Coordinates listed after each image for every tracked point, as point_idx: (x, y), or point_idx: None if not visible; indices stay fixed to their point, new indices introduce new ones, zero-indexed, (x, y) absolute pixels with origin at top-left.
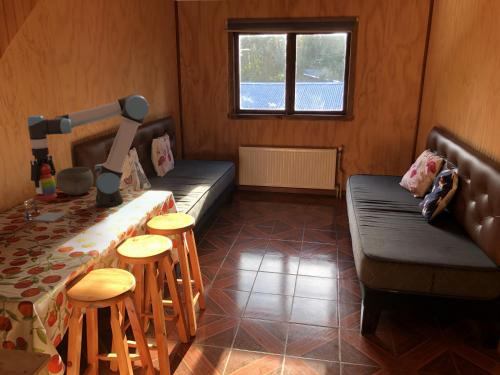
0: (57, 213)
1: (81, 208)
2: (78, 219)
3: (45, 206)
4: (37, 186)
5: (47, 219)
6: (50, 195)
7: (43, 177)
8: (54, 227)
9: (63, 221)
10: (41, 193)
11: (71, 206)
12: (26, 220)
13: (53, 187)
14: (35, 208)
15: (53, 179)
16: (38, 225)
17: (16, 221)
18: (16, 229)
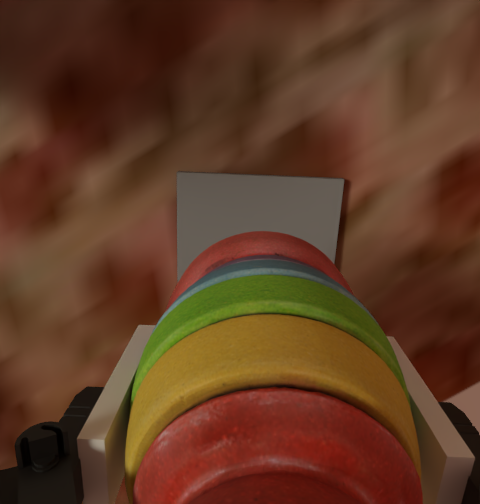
0: (192, 239)
1: (35, 136)
2: (276, 15)
3: (59, 398)
4: (464, 421)
5: (316, 237)
6: (316, 265)
7: (411, 476)
8: (447, 109)
9: (325, 114)
10: (393, 339)
11: (14, 237)
12: None
13: (293, 267)
14: None
15: (250, 330)
16: (404, 242)
17: None
18: (469, 329)
